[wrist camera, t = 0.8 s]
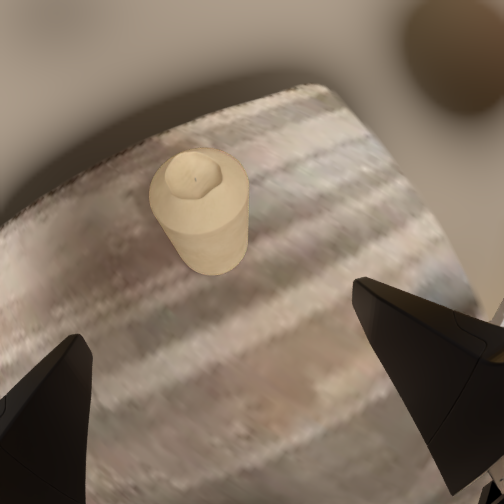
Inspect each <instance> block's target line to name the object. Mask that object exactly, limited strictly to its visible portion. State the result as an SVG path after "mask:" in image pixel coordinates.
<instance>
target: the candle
mask: <svg viewBox="0 0 504 504" xmlns="http://www.w3.org/2000/svg"><path fill="white" fill-rule="evenodd" d="M149 202H150V206H151V209H152V211H153V213H154V215H155V217H156V218H157V220H158V222H159V223H160V225H161V226H162V228H163V230H164V231H165V233H166V234H167V236H168V238H169V239H170V241H171V242H172V244H173V246H174V247H175V249H176V250H177V252H178V253H179V255H180V256H181V258H182V259H183V261H184V262H185V263H186V264H187V265H188V266H189V267H190V268H191V269H192V270H194V271H196V272H198V273H200V274H204V275H211V276H213V275H221V274H224V273H226V272H229V271H230V270H232V269H234V268H235V267H236V266H237V265H238V264H239V263H240V262H241V260H242V259H243V257H244V255H245V253H246V250H247V245H248V216H249V181H248V176H247V174H246V171H245V169H244V168H243V166H242V165H241V164H240V162H239V161H238V160H237V159H235V158H234V157H233V156H231V155H230V154H228V153H226V152H224V151H221V150H218V149H213V148H194V149H189V150H186V151H183V152H181V153H178V154H176V155H175V156H173V157H171V158H170V159H168V160H167V161H166V162H165V163H164V164H163V165H162V166H161V167H160V168H159V169H158V171H157V172H156V174H155V175H154V177H153V179H152V182H151V185H150V189H149Z"/></svg>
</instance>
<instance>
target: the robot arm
mask: <svg viewBox="0 0 504 504" xmlns="http://www.w3.org/2000/svg"><path fill="white" fill-rule="evenodd" d="M352 304H353V308H354V310H355V312H356V314H357V316H358V319H359V321H360V323H361V325H362V327H363V330H364V332H365V334H366V336H367V338H368V340H369V343H370V344H371V346H372V348H373V350H374V351H375V353H376V355H377V357H378V358H379V360H380V362H381V363H382V365H383V367H384V368H385V370H386V372H387V374H388V375H389V377H390V379H391V381H392V382H393V384H394V386H395V388H396V389H397V391H398V393H399V395H400V397H401V398H402V400H403V402H404V404H405V406H406V407H407V409H408V411H409V413H410V415H411V416H412V418H413V420H414V422H415V424H416V426H417V428H418V430H419V431H420V433H421V435H422V437H423V439H424V441H425V443H426V445H427V447H428V449H429V451H430V453H431V455H432V457H433V459H434V461H435V463H436V465H437V467H438V469H439V471H440V473H441V475H442V477H443V479H444V481H445V483H446V485H447V487H448V489H449V492H450V493H451V495H452V496H454V495H456V494H457V493H459V492H460V491H462V490H463V489H465V488H466V487H467V486H469V485H470V484H472V483H473V482H474V481H476V480H477V479H478V478H480V477H481V476H482V475H484V474H485V473H486V472H488V473H489V474H490V476H491V478H492V479H493V480H492V481H491V482H490V483H488V484H487V485H486V486H485V487H483V489H482V493H481V496H480V500H479V503H478V504H504V327H501V326H498V325H495V324H492V323H488V322H485V321H482V320H479V319H476V318H473V317H470V316H468V315H465V314H462V313H460V312H457V311H455V310H454V311H453V310H452V309H449V308H447V307H444V306H442V305H439V304H437V303H434V302H431V301H429V300H426V299H423V298H421V297H418V296H416V295H413V294H410V293H408V292H405V291H402V290H400V289H397V288H394V287H392V286H389V285H387V284H384V283H381V282H379V281H376V280H373V279H370V278H368V277H362V278H358V279H355V280H354V282H353V291H352ZM92 362H93V356H92V352H91V350H90V349H89V347H88V345H87V343H86V342H85V340H84V338H83V337H82V335H80V334H72V335H69V336H68V337H67V338H65V339H64V340H63V341H62V342H61V343H60V344H59V345H58V346H57V347H55V348H54V349H53V350H52V351H51V352H50V353H49V354H48V355H47V356H46V357H45V358H43V359H42V360H41V361H40V362H39V363H38V364H37V365H36V366H35V367H34V368H33V369H32V370H31V371H30V372H29V373H28V374H26V375H25V376H24V377H23V378H22V379H21V380H20V381H19V382H18V383H17V384H16V385H15V386H14V387H13V388H12V389H11V390H10V391H9V392H8V393H7V394H6V395H5V396H4V397H3V398H2V399H1V400H0V504H86V495H85V480H86V450H87V435H88V423H89V413H90V403H91V389H92Z"/></svg>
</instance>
